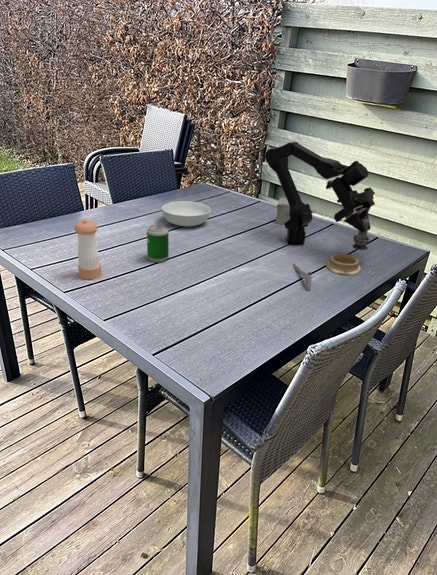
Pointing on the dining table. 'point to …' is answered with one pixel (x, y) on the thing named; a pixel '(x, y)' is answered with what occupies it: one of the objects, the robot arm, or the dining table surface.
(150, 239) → the soda can
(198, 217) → the serving bowl
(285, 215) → the incense holder
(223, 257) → the dining table surface
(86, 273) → the pepper shaker
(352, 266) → the dish
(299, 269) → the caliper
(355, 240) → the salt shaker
